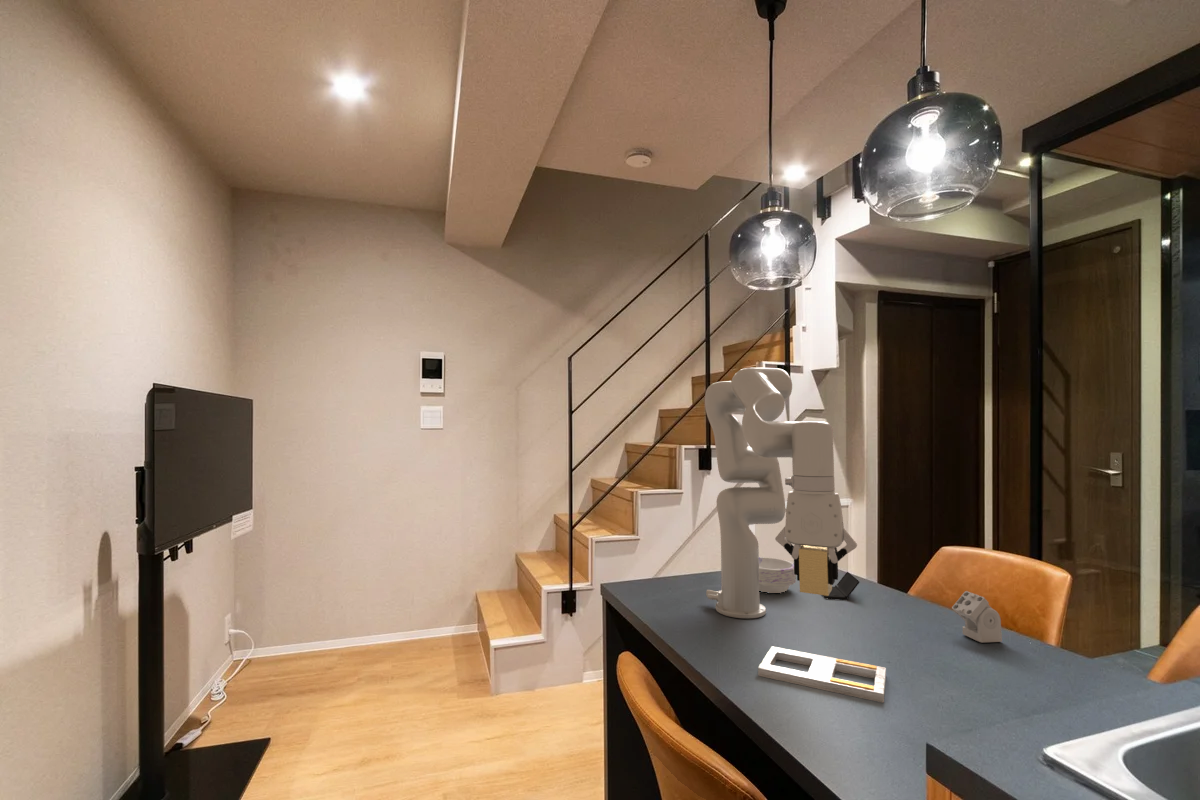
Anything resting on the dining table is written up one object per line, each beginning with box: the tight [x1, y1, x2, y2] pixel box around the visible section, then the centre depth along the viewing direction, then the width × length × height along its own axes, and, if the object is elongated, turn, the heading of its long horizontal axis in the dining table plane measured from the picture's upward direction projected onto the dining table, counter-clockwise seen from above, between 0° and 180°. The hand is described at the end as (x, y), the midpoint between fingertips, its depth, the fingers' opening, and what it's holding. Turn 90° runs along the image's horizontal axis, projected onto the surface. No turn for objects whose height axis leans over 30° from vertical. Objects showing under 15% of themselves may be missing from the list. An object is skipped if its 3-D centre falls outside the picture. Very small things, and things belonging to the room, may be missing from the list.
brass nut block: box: [799, 545, 833, 596], centre depth 104 cm, size 5×5×8 cm
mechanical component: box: [951, 590, 1003, 643], centre depth 121 cm, size 5×8×10 cm
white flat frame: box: [757, 646, 887, 704], centre depth 102 cm, size 21×12×2 cm, turn 61°
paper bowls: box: [759, 556, 797, 594], centre depth 160 cm, size 15×15×8 cm
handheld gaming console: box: [822, 571, 861, 601], centre depth 155 cm, size 12×7×10 cm
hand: (816, 580), depth 104 cm, fingers closed on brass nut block, 5 cm apart
